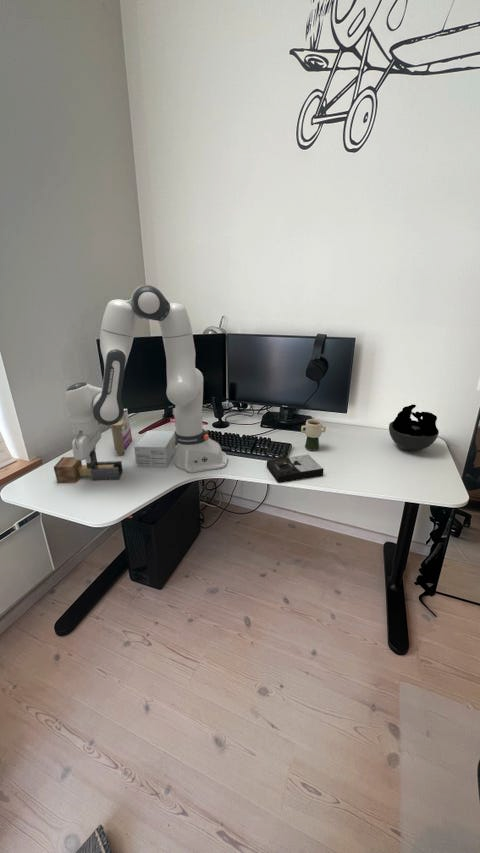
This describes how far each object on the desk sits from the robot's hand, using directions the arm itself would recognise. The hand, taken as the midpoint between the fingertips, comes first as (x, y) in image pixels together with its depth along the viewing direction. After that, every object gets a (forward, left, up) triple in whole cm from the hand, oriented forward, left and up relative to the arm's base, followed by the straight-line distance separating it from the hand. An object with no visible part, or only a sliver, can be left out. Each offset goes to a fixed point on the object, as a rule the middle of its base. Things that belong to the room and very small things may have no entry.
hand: (91, 459), depth 136 cm
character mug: (-91, -19, -8) cm, 94 cm away
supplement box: (-22, -15, -8) cm, 28 cm away
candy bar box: (-4, -28, -8) cm, 29 cm away
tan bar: (0, 0, -6) cm, 6 cm away
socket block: (+9, 0, -8) cm, 12 cm away
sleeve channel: (-5, 0, -8) cm, 9 cm away
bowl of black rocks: (-135, -16, -8) cm, 137 cm away
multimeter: (-79, +1, -8) cm, 80 cm away
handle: (-5, -19, -8) cm, 21 cm away
